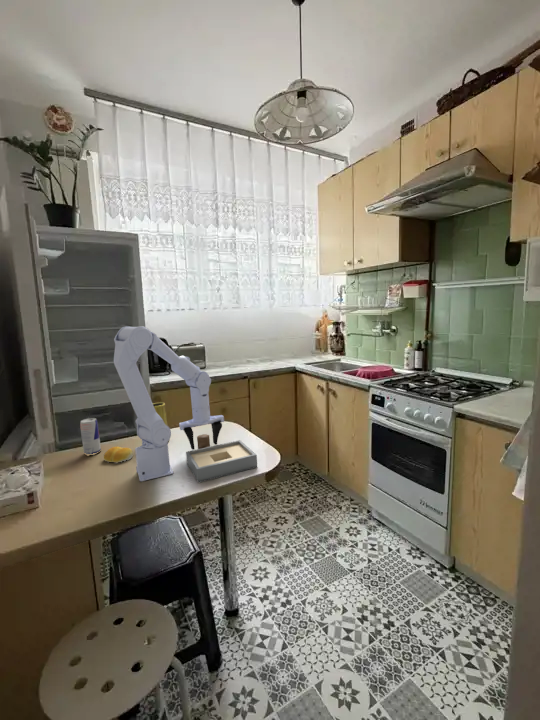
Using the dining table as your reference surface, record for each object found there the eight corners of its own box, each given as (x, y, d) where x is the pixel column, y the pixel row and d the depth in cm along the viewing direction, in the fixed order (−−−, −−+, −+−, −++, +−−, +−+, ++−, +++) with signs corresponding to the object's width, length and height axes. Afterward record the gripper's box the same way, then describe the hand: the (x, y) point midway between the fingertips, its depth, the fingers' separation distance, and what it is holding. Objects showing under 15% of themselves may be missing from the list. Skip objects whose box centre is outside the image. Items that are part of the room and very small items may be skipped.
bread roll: (123, 465, 114) (121, 453, 114) (99, 463, 117) (98, 451, 116) (139, 454, 122) (137, 443, 121) (117, 452, 125) (115, 442, 124)
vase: (152, 439, 135) (148, 403, 132) (169, 437, 136) (165, 401, 134) (152, 445, 129) (148, 407, 127) (170, 442, 131) (166, 405, 128)
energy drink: (104, 450, 127) (100, 417, 125) (95, 456, 122) (91, 422, 120) (90, 450, 128) (85, 417, 126) (80, 456, 122) (76, 422, 121)
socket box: (198, 482, 99) (197, 469, 99) (187, 463, 112) (185, 451, 111) (257, 467, 107) (256, 454, 106) (240, 451, 120) (239, 440, 119)
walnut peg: (200, 457, 117) (198, 439, 116) (197, 452, 120) (195, 435, 119) (212, 454, 118) (210, 437, 118) (208, 450, 122) (207, 433, 121)
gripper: (181, 413, 110) (185, 455, 112) (225, 405, 116) (228, 445, 118) (176, 408, 117) (180, 447, 119) (219, 401, 123) (222, 438, 125)
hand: (204, 446), depth 119 cm, fingers open, 7 cm apart
